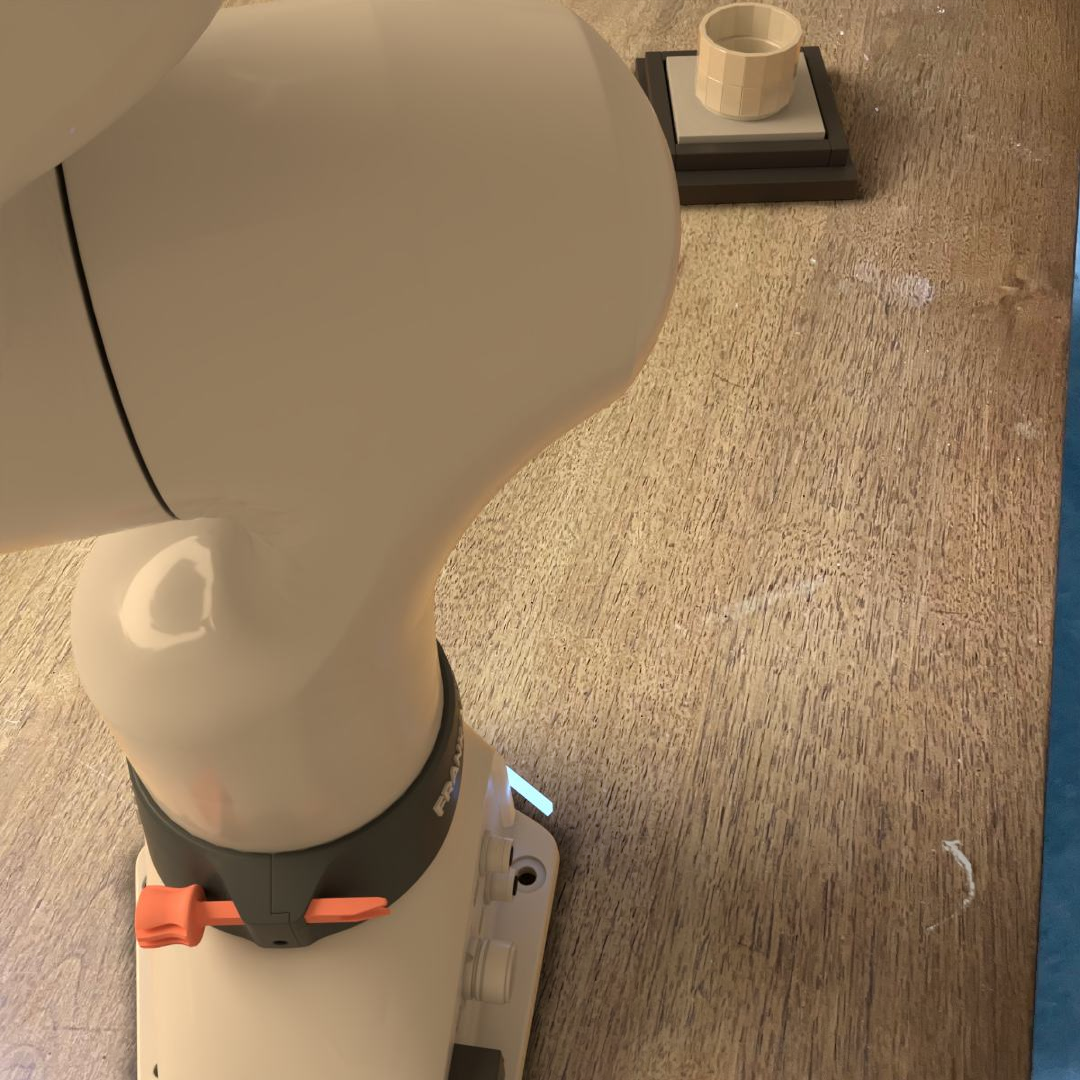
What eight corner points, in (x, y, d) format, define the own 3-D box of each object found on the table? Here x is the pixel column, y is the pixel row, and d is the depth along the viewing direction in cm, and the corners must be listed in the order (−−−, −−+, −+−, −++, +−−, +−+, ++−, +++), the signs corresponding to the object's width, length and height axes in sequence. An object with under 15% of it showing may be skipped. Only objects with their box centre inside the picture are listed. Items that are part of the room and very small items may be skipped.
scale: (854, 199, 83) (862, 161, 80) (650, 206, 83) (652, 168, 81) (817, 70, 93) (823, 34, 90) (634, 76, 93) (636, 40, 90)
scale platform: (822, 151, 83) (825, 131, 82) (677, 156, 83) (678, 136, 82) (800, 71, 89) (803, 51, 88) (665, 75, 89) (666, 56, 88)
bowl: (797, 122, 83) (809, 54, 79) (698, 125, 83) (704, 57, 79) (784, 67, 87) (794, 0, 83) (690, 70, 87) (695, 3, 83)
